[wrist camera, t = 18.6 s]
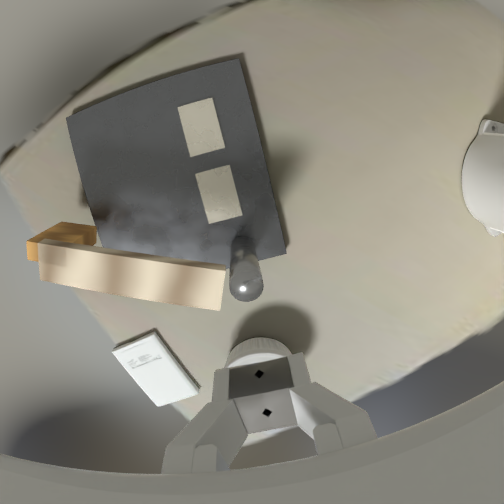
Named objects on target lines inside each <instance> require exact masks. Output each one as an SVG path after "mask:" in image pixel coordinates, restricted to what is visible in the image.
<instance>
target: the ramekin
mask: <svg viewBox="0 0 504 504" xmlns="http://www.w3.org/2000/svg"><path fill="white" fill-rule="evenodd" d="M288 355H292V353H291V352H290V350H289V349H288V348H287V347H286V346H285V345H284V344H282V343H281V342H279V341H277V340H274V339H270V338H262V337H260V338H252V339H248V340H246V341H243V342H242V343H240V344H239V345H237V346H236V347H235V348H234V349H233V350H232V351H231V352H230V354H229V356H228V358H227V361H226V365H225V367H224V368H230V367H235V366H241V365H246V364H252V363H258V362H263V361H268V360H272V359H277V358H281V357H286V356H287V357H288Z"/></svg>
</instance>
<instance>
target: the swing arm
mask: <svg viewBox="0 0 504 504" xmlns="http://www.w3.org/2000/svg"><path fill="white" fill-rule="evenodd" d="M96 232H97V226H90V225H82V224H75V223H67V222H60V223H58V224H56V225H55V226H53V227H51V228H49V229H47V230H45V231H44V232H42V233H40V234H38V235H36V236H35V237H33V238H31V239H29V240H27V256H28V260H32V261H37V262H39V270H40V280H43V281H48V282H52V283H57V284H62V285H67V286H72V287H77V288H82V289H87V290H92V291H98V292H103V293H109V294H114V295H120V296H126V297H132V298H138V299H144V300H150V301H156V302H163V303H169V304H176V305H183V306H190V307H197V308H204V309H212V310H220V307H221V299H222V292H223V285H224V278H225V271H226V265H223V264H215V263H208V262H201V261H193V260H186V259H179V258H172V257H165V256H158V255H151V254H144V253H137V252H130V251H123V250H116V249H110V248H103V247H96V246H93V245H94V244H95V243H96Z"/></svg>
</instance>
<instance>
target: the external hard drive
mask: <svg viewBox="0 0 504 504" xmlns="http://www.w3.org/2000/svg"><path fill="white" fill-rule="evenodd" d="M112 352H113V354H114V355H115V356H116V358H117V359H118V360H119V361H120V363H121V364H122V365H123V367H124V368H125V369H126V370H127V371H128V373H129V374H130V375H131V376H132V378H133V379H134V380H135V381H136V382H137V384H138V385H139V386H140V387H141V388H142V389H143V391H144V392H145V393H146V394H147V395H148V396H149V397H150V399H151V400H152V401H153V402H154V403H155V404H156V405H157V406H162V405H166V404H169V403H172V402H175V401H179V400H182V399H185V398H188V397H191V396H194V395H197V394H198V393H199V388H198V387H197V386H196V385H195V383H194V382H193V381H192V380H191V378H190V377H189V376H188V375H187V373H186V372H185V371H184V369H183V368H182V367H181V366H180V364H179V363H178V362H177V360H176V359H175V358H174V356H173V355H172V354H171V352H170V351H169V350H168V348H167V347H166V346H165V344H164V343H163V342H162V340H161V339H160V337H159V336H158V335H157V333H156V332H155V331H154V332H152V333H150V334H148V335H145V336H143V337H140V338H138V339H137V340H135V341H133V342H129V343H126V344H124V345H121V346H119V347H118V346H116V347H114V349H113V351H112Z"/></svg>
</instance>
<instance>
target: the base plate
mask: <svg viewBox="0 0 504 504" xmlns="http://www.w3.org/2000/svg"><path fill="white" fill-rule="evenodd" d="M66 121H67V125H68V130H69V134H70V138H71V143H72V147H73V151H74V155H75V159H76V162H77V166H78V170H79V173H80V177H81V181H82V184H83V187H84V191H85V194H86V197H87V201H88V204H89V207H90V210H91V213H92V216H93V219H94V222H95V225H96V226H97V231H98V234H99V237H100V240H101V243H102V245H103V248H110V249H116V250H123V251H130V252H137V253H144V254H151V255H158V256H165V257H172V258H179V259H186V260H193V261H201V262H208V263H215V264H223V265H226V269H227V268H230V282H229V287H230V292H231V294H232V295H233V296H234V297H235V298H236V299H238V300H240V301H244V302H249V301H253V300H255V299H257V298H258V297H259V296H260V295H261V293H262V291H263V287H264V286H263V280H262V275H261V271H260V266H259V262H258V261H259V260H263V259H267V258H271V257H275V256H279V255H283V254H287V253H286V248H285V244H284V239H283V235H282V230H281V226H280V221H279V217H278V213H277V208H276V204H275V200H274V195H273V191H272V187H271V183H270V178H269V174H268V170H267V166H266V162H265V158H264V154H263V150H262V146H261V141H260V137H259V133H258V129H257V126H256V122H255V118H254V114H253V110H252V106H251V102H250V98H249V94H248V91H247V87H246V83H245V79H244V76H243V72H242V68H241V65H240V61H239V58H238V59H234V60H229V61H225V62H221V63H217V64H213V65H209V66H205V67H201V68H197V69H194V70H190V71H187V72H183V73H180V74H177V75H173V76H170V77H167V78H164V79H161V80H158V81H155V82H152V83H149V84H146V85H143V86H141V87H138V88H135V89H132V90H130V91H127V92H124V93H122V94H119V95H117V96H114V97H112V98H109V99H107V100H105V101H102V102H100V103H98V104H95V105H93V106H91V107H88V108H86V109H84V110H82V111H80V112H77V113H75V114H73V115H71V116H69V117H67V118H66Z"/></svg>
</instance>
